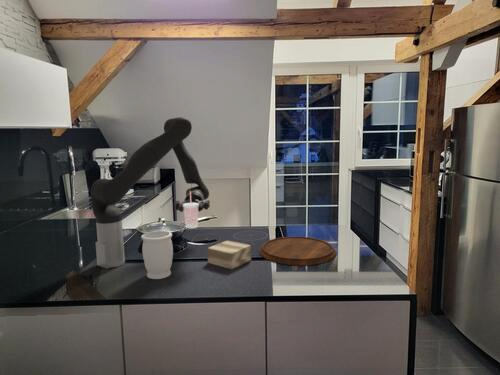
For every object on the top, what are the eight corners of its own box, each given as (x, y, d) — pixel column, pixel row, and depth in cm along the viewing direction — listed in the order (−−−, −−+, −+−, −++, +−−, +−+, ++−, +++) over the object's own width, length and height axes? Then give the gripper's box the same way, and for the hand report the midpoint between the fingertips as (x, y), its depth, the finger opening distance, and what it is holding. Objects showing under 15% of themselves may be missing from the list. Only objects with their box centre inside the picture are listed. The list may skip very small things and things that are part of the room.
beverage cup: (200, 224, 148) (199, 189, 145) (198, 228, 142) (197, 192, 139) (184, 224, 147) (183, 190, 145) (182, 229, 141) (181, 192, 139)
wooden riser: (231, 269, 138) (231, 253, 137) (208, 262, 145) (207, 247, 144) (251, 259, 147) (250, 245, 146) (227, 254, 154) (227, 240, 153)
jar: (158, 283, 126) (156, 240, 124) (137, 277, 132) (134, 236, 129) (180, 272, 135) (178, 232, 133) (159, 267, 140) (157, 229, 138)
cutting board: (245, 258, 150) (245, 252, 149) (277, 237, 178) (277, 232, 177) (323, 271, 135) (323, 265, 135) (344, 246, 163) (345, 241, 163)
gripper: (176, 192, 156) (170, 199, 140) (211, 191, 157) (209, 199, 141) (177, 209, 158) (171, 219, 141) (211, 209, 158) (209, 218, 142)
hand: (190, 209), depth 141 cm, fingers closed on beverage cup, 6 cm apart
